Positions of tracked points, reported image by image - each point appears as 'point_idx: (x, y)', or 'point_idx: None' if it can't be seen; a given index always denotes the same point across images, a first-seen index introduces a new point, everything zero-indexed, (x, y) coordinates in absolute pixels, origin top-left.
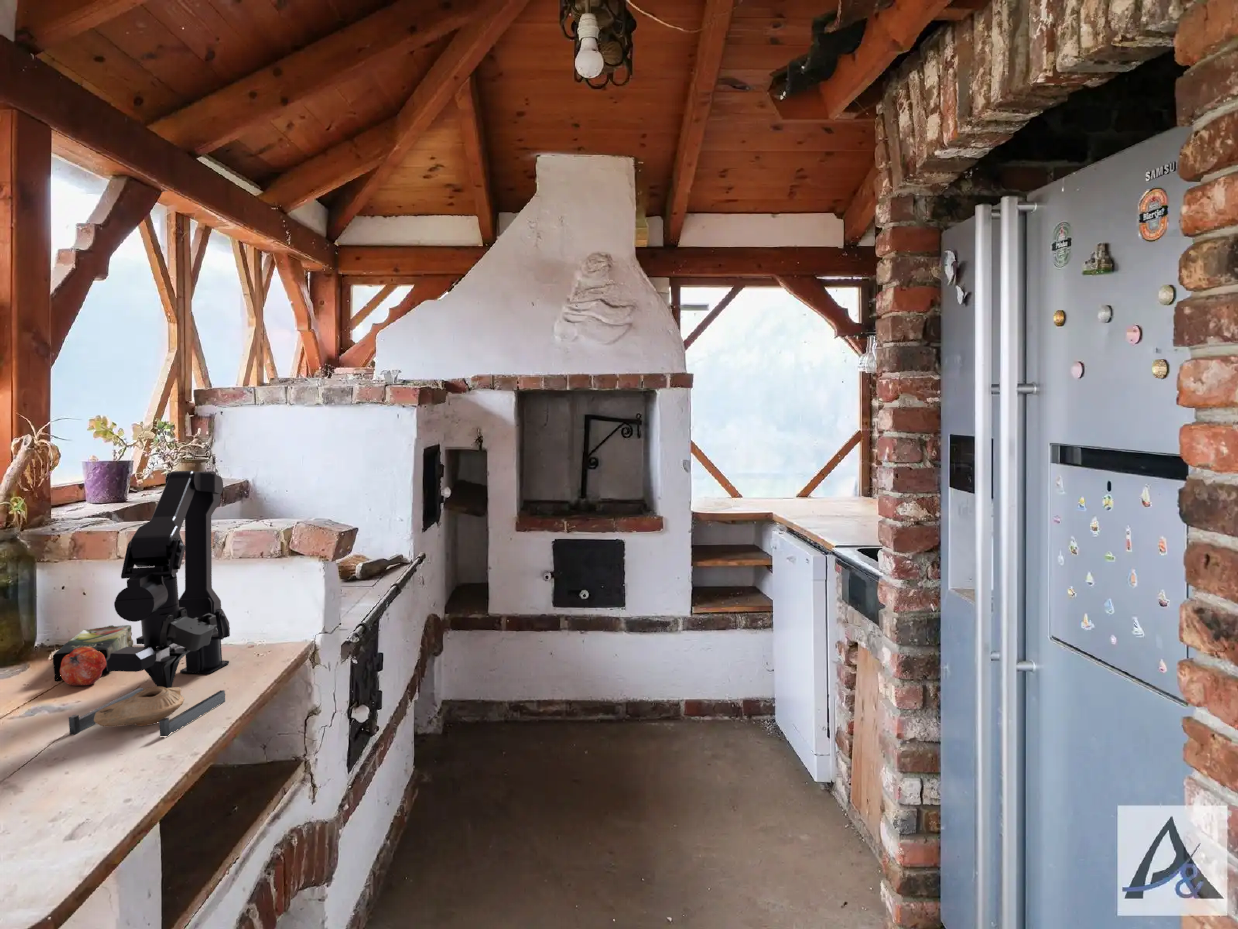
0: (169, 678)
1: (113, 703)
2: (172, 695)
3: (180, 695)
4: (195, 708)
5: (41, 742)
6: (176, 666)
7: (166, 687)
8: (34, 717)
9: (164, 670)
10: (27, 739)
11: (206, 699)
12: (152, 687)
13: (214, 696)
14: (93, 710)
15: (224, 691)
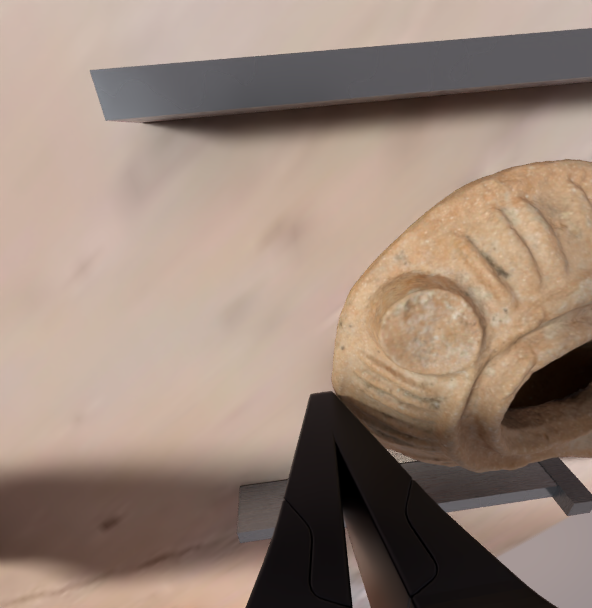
0: (358, 466)
1: None
2: (564, 246)
3: (386, 280)
4: (495, 36)
5: (581, 472)
6: (284, 566)
7: (357, 419)
8: None
9: (491, 560)
10: (549, 508)
11: (321, 80)
12: (464, 456)
13: (242, 58)
14: (471, 508)
15: (96, 72)
